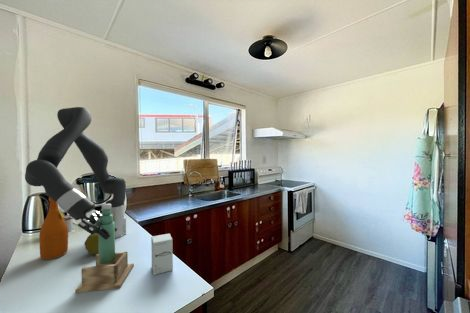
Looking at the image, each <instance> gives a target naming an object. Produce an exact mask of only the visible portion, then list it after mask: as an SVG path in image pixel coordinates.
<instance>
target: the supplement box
mask: <svg viewBox="0 0 470 313" xmlns="http://www.w3.org/2000/svg"><path fill="white" fill-rule="evenodd" d="M173 244H174V243H173V237H172V236H171V233H165V234H159V235H153V236H151V269H152V275H153V276H156V275H160V274H162V273H167V272H171V270H172V271H173V270H174V267H173V266H174V265H173V264H174V262H173V261H174V260H173V254H174V253H173V252H174V251H173V248H174V247H173Z"/></svg>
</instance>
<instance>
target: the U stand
mask: <svg viewBox="0 0 470 313" xmlns="http://www.w3.org/2000/svg"><path fill="white" fill-rule="evenodd" d="M128 256H129V255H128V251H119V252H116V251H115V260H114V261H113V262H111V263H108V264H99V254H97V255H95V265H92V266H83V267H81V283H80V284H79V285H78V286H77V287H76V288H75V289H74V290H75V291H74V292H75V294H77V293H85V292H86V293H87V292H94V291H95V292H96V291H103V290H105V291H106V290H112V289H113V290H114V289H120V288H122V286H123V284H124V283H125V281H126V279H127V278H128V277H129V275H130V274H131V271H132V270H133V268H134V266H135V263H129V262H128V258H129V257H128Z"/></svg>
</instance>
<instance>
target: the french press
mask: <svg viewBox="0 0 470 313" xmlns="http://www.w3.org/2000/svg"><path fill="white" fill-rule="evenodd" d="M59 209H60V210H59V212H61V211H62V212H63V214H64V216H65V217H64V220H65V222H66V224H67V227H68V234H69V235H71V233H72V234H74V233H75V232H76V230H74V227H73V226H74V222H73V221H74V220H73V219H74V218H72V217H71V216H70V215H69V214H66V215H65V213H66V212H65V211H64V210H63V209H62V208H61V207H60V208H59ZM73 232H74V233H73Z"/></svg>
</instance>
